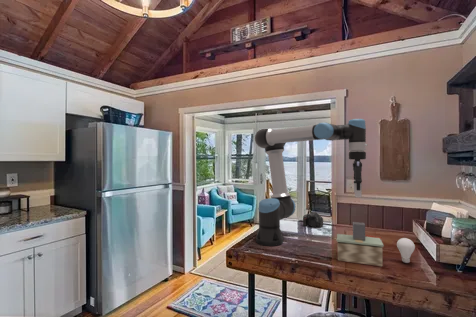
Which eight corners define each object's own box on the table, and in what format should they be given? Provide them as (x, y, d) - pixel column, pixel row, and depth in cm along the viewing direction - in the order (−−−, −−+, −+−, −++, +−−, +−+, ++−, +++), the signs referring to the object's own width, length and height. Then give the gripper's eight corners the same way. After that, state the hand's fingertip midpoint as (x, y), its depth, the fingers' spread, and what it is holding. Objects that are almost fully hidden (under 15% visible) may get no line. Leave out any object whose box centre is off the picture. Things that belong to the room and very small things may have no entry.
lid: (336, 241, 116) (336, 239, 116) (337, 235, 126) (337, 233, 126) (383, 246, 108) (383, 244, 108) (379, 239, 119) (379, 237, 119)
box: (337, 260, 116) (337, 242, 116) (338, 251, 126) (337, 235, 126) (382, 266, 109) (382, 248, 109) (379, 256, 119) (379, 239, 119)
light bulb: (408, 267, 108) (408, 241, 108) (393, 261, 114) (393, 237, 114) (418, 264, 110) (418, 239, 110) (403, 258, 116) (403, 235, 116)
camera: (303, 228, 167) (303, 213, 167) (302, 224, 177) (302, 210, 177) (324, 229, 164) (324, 214, 164) (322, 225, 174) (322, 210, 174)
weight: (353, 239, 116) (353, 224, 116) (352, 236, 121) (352, 221, 121) (365, 240, 114) (365, 225, 114) (364, 237, 119) (364, 222, 119)
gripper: (368, 150, 109) (368, 199, 110) (363, 151, 132) (364, 191, 133) (349, 151, 112) (349, 198, 113) (348, 151, 135) (348, 191, 136)
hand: (357, 195), depth 123 cm, fingers open, 13 cm apart
